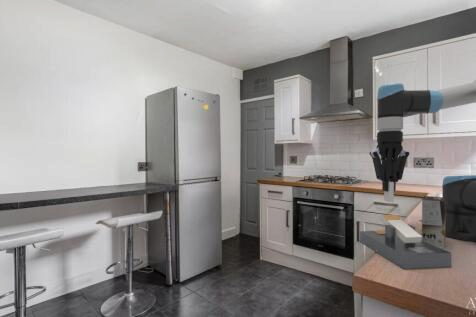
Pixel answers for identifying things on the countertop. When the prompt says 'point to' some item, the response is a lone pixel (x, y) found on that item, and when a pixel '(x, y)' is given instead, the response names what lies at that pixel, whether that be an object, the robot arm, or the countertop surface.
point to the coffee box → (433, 220)
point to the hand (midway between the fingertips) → (388, 200)
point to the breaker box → (405, 250)
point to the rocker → (402, 229)
